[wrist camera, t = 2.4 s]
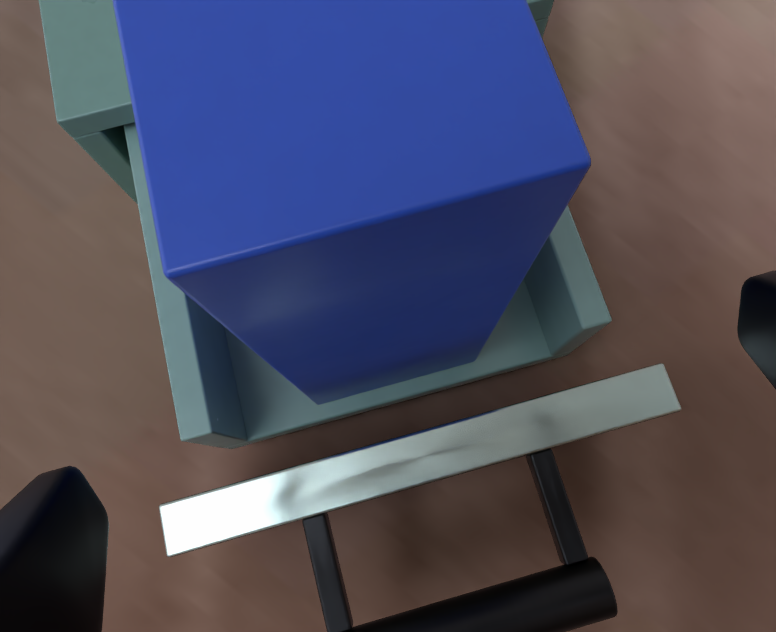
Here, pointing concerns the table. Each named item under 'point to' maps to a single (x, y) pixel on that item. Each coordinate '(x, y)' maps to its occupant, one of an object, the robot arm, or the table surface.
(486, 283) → the carton
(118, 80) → the cabinet
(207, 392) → the drawer
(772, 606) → the table surface
